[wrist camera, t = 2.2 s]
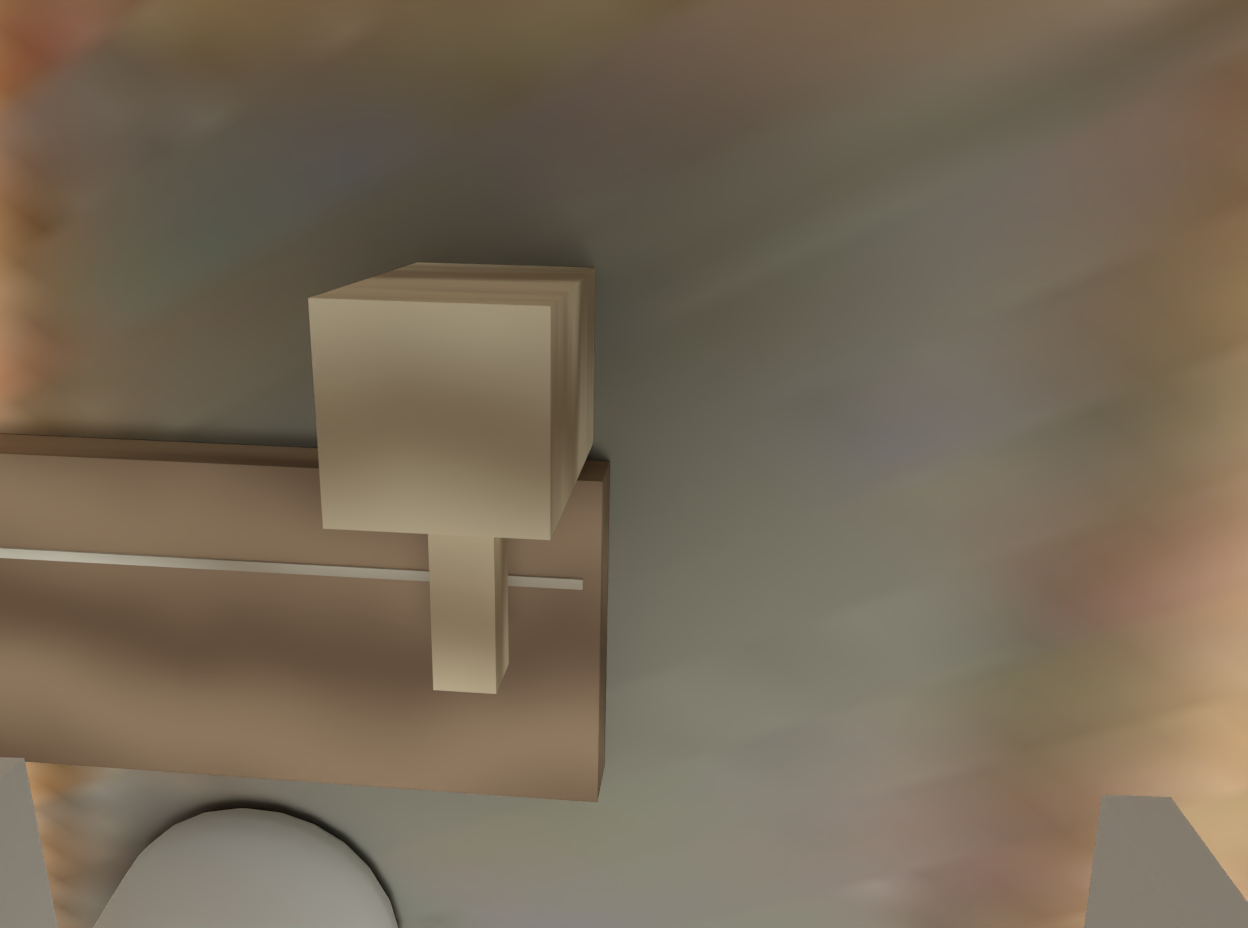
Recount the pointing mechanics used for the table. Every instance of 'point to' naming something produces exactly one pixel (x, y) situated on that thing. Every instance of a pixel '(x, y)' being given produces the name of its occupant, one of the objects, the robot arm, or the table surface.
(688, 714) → the table surface
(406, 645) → the board
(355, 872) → the mug
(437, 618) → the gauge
